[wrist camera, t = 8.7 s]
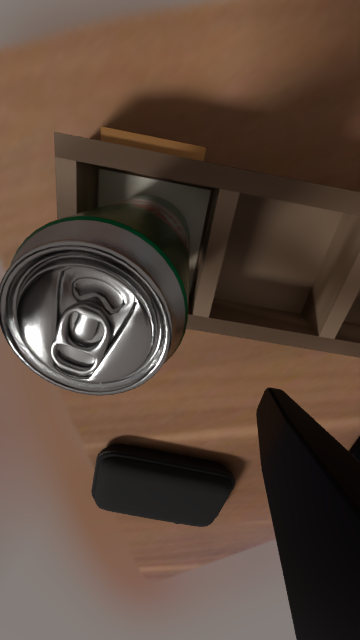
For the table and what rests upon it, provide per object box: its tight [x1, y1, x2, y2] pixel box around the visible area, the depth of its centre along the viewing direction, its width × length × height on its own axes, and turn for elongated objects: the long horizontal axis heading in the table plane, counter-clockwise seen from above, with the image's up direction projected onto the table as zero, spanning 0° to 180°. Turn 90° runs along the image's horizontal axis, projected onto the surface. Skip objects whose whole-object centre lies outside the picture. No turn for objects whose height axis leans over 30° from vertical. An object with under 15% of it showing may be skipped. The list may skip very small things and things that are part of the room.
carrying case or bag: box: [92, 444, 235, 527], centre depth 30 cm, size 11×3×15 cm
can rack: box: [54, 126, 360, 358], centre depth 17 cm, size 10×25×4 cm, turn 80°
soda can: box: [0, 195, 190, 395], centre depth 12 cm, size 5×5×12 cm
